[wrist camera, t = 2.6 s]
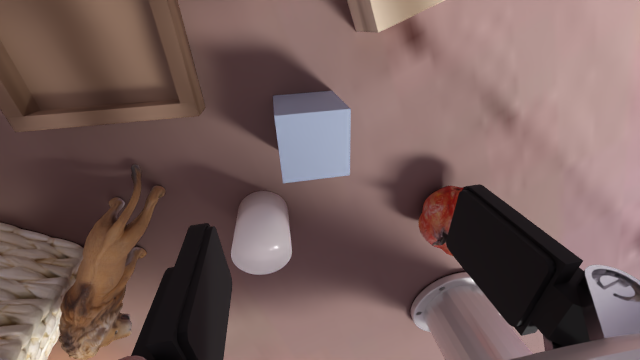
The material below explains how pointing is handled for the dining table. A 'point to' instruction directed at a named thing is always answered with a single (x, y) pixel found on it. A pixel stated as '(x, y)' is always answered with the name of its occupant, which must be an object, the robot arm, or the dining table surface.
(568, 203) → the dining table surface
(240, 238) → the off-white ceramic salt cellar
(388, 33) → the dining table surface
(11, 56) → the walnut tray
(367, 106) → the dining table surface
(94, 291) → the lion figurine
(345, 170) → the slate-blue block
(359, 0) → the beech cube
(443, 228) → the pomegranate
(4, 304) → the storage basket
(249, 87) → the dining table surface
